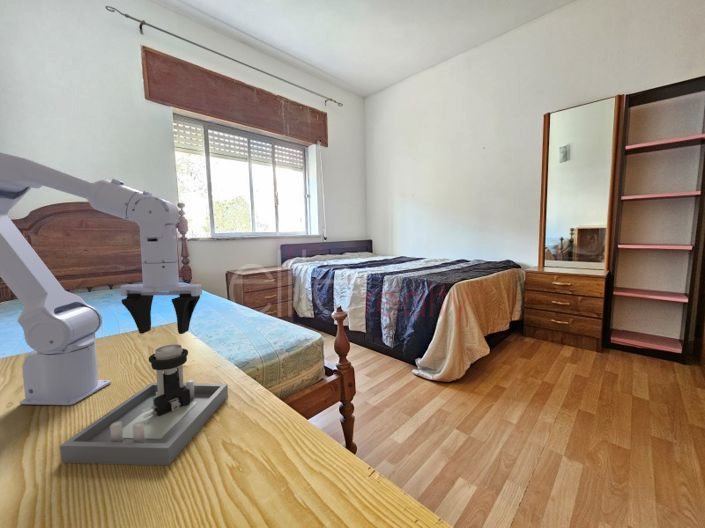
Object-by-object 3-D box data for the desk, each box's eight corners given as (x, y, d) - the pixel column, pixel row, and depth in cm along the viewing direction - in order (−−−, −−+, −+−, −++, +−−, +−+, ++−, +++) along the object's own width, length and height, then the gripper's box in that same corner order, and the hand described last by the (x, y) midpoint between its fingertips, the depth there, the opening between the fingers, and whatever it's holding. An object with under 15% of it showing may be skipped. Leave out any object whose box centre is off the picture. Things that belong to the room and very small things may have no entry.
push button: (150, 427, 42) (145, 361, 41) (136, 414, 45) (132, 352, 44) (196, 405, 47) (193, 347, 47) (181, 395, 50) (178, 340, 50)
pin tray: (61, 462, 36) (58, 434, 36) (152, 394, 52) (151, 374, 52) (169, 465, 36) (167, 436, 36) (227, 396, 52) (227, 375, 52)
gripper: (104, 263, 51) (109, 338, 52) (184, 264, 50) (188, 339, 51) (135, 260, 58) (139, 327, 59) (206, 261, 57) (209, 327, 58)
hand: (164, 332), depth 56 cm, fingers open, 7 cm apart
